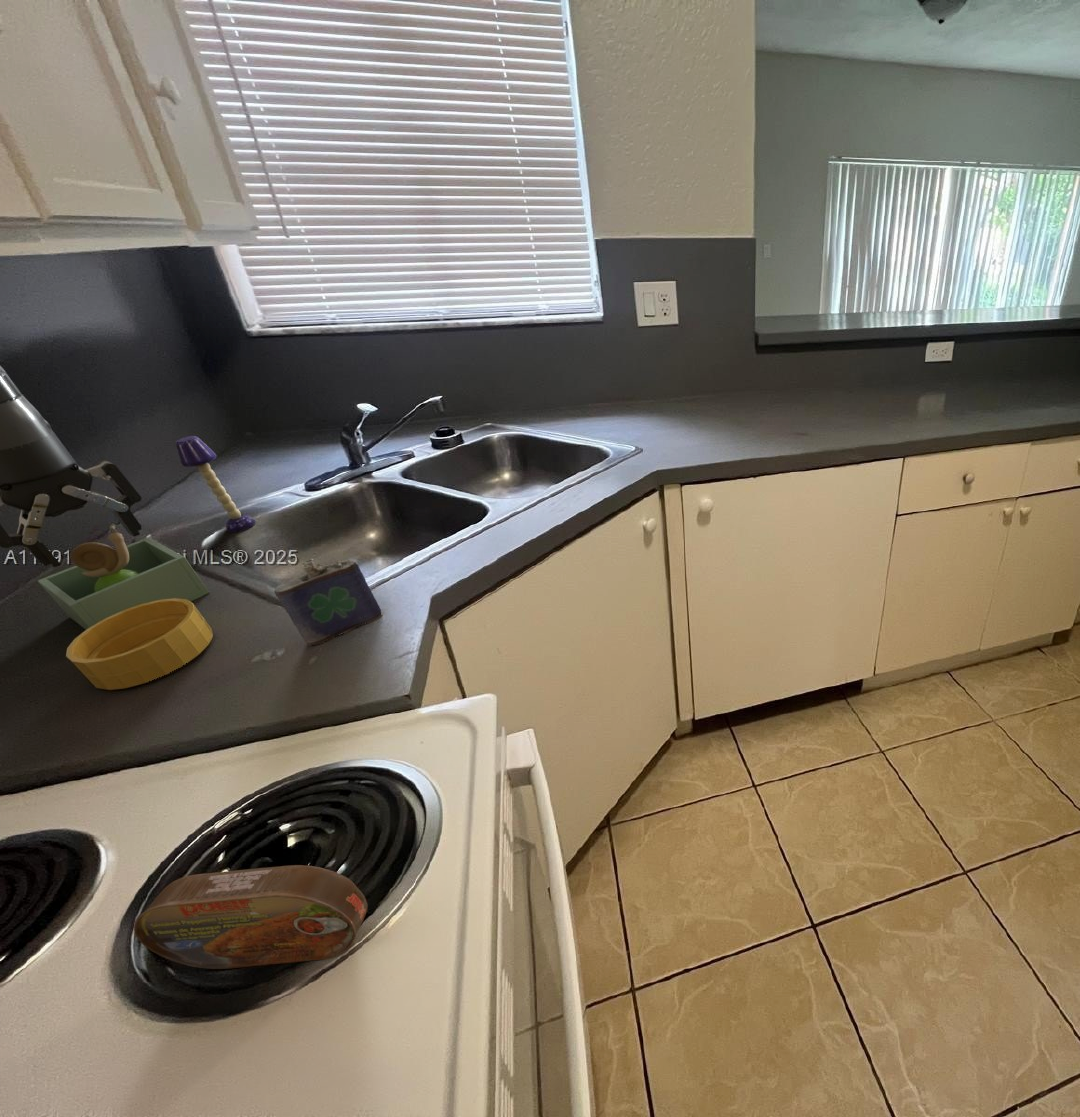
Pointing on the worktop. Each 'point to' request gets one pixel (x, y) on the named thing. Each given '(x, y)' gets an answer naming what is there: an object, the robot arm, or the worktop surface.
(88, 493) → the robot arm
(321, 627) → the clover box
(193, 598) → the bin
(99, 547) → the snail figurine
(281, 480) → the worktop surface
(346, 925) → the tin
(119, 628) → the bowl
